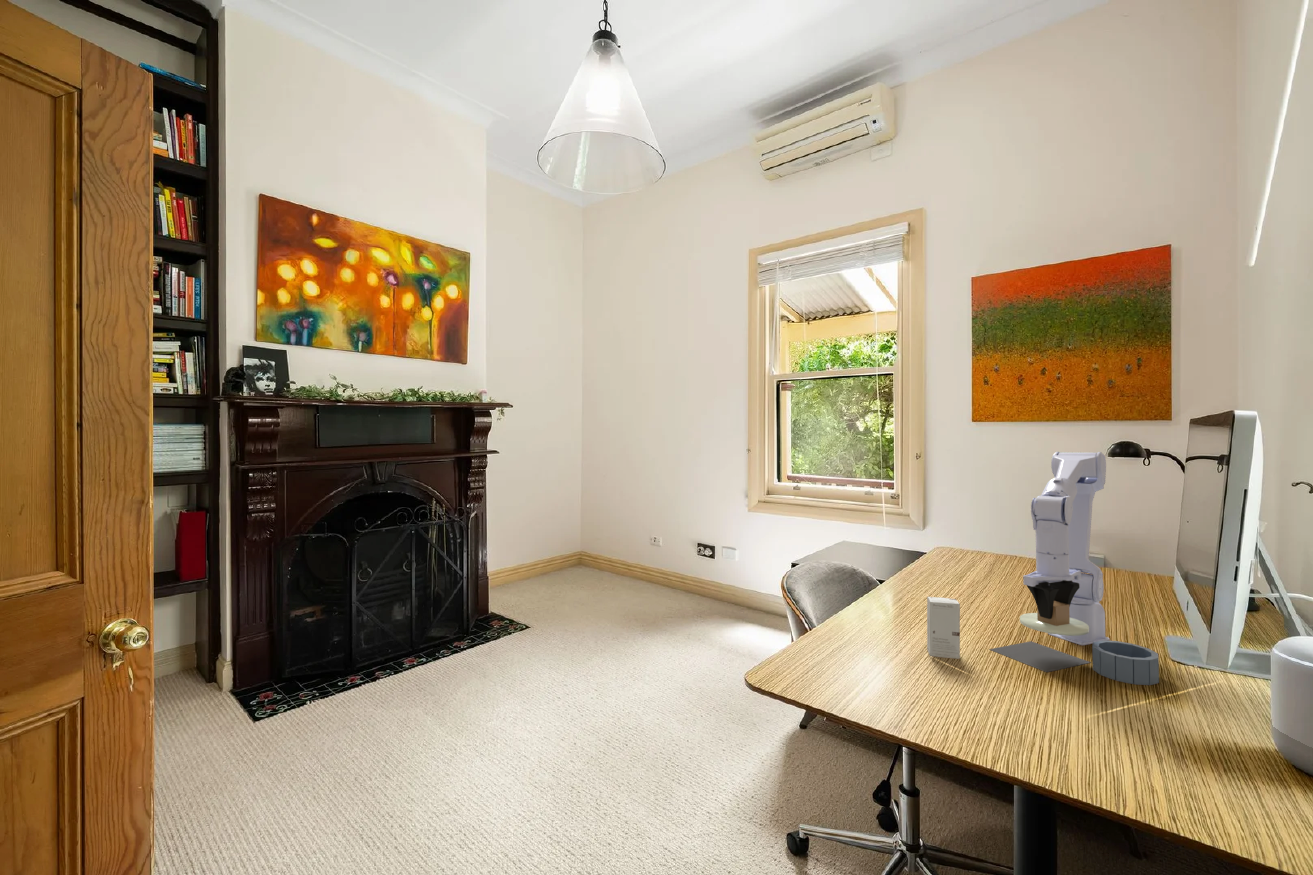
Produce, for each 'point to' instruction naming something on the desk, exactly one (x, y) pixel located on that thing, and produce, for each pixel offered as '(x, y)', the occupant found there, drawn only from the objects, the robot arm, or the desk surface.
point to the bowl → (1125, 662)
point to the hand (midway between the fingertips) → (1053, 616)
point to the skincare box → (943, 627)
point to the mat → (1039, 656)
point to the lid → (1055, 622)
